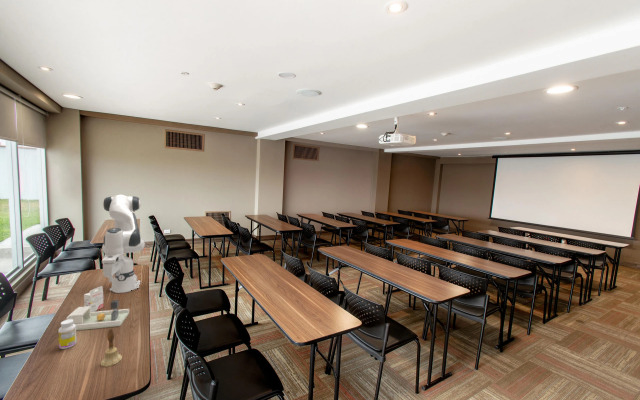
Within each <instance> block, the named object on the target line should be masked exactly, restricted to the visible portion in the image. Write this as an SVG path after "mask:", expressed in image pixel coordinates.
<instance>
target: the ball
mask: <svg viewBox="0 0 640 400" xmlns="http://www.w3.org/2000/svg"><path fill="white" fill-rule="evenodd" d="M104 318H105V314H104V313H100V314H98V315H97V320H99V321H100V320H103V319H104Z"/></svg>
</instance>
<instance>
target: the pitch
mask: <svg viewBox="0 0 640 400" xmlns="http://www.w3.org/2000/svg"><path fill="white" fill-rule="evenodd" d="M112 312H113V309H110V310H109V309H108V310H100V311H99V310H97V311H94V312H91V306H87V307H85V306H78V307H77V308H75V309H74V310H73V311H72V312H71V313H70V314H69V315H68V316H67V317H66V320H68V319H72V320H73V324H75V325H76V331H84V330H93V329H104V328H114V327H121V326H122V324H123V323H124V321H125V320H126V318H127V317H128V316H129V314H130V308H123V309H121V308H120V309H118V312H119V316H118V317H117V319H116V320H112V321H111V313H112ZM100 313H104V314H105V318H104V319H103V320H100V321H99V320H97V315H98V314H100Z"/></svg>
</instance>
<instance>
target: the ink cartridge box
mask: <svg viewBox="0 0 640 400" xmlns="http://www.w3.org/2000/svg"><path fill="white" fill-rule="evenodd" d="M83 299H84V304H83V307H87V306H91V312H97V311H99V310H100V309H102V308H104V307H105V306H104V289H103V285H101V286H98V287H95V288H93V289H91V290H89V292H87V293H84V294H83Z"/></svg>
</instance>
